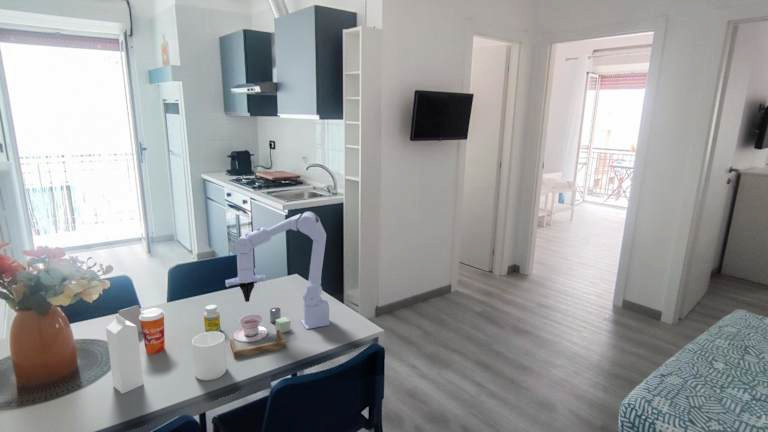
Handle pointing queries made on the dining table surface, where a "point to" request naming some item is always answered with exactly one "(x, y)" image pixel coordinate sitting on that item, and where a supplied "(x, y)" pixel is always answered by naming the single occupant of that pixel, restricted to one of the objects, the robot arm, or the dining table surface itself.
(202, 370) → the mug
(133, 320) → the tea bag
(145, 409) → the dining table surface
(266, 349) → the wooden cradle
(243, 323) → the teacup
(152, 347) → the paper cup
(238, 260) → the robot arm
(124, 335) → the milk
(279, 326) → the sage block
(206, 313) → the supplement bottle
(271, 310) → the grey canister
